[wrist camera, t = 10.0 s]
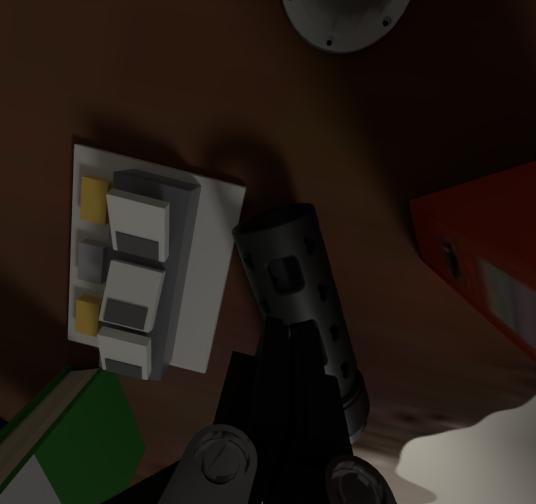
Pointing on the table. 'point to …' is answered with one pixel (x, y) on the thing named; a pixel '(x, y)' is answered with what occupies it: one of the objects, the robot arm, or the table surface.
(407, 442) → the table surface
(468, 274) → the file binder
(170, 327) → the panel
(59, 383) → the hardback book
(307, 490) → the robot arm
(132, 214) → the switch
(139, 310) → the switch middle
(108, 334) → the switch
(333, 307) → the muzzle brake
